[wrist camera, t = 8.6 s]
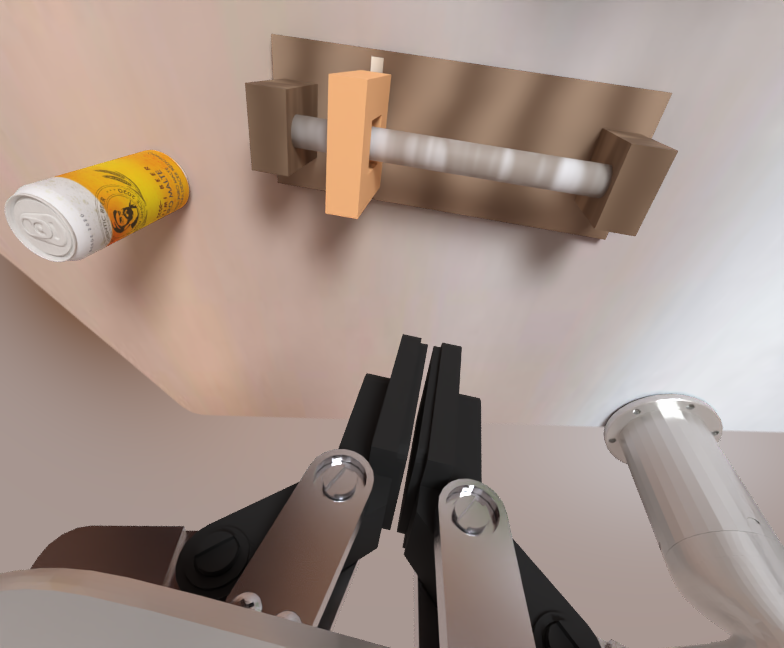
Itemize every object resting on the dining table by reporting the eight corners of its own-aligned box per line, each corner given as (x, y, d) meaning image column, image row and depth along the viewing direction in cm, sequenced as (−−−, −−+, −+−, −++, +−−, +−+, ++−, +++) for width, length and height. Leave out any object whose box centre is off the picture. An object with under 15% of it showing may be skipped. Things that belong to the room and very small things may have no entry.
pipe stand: (668, 92, 31) (720, 101, 24) (602, 236, 38) (630, 274, 31) (275, 34, 33) (226, 28, 27) (280, 180, 40) (243, 204, 33)
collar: (391, 74, 32) (367, 79, 25) (380, 186, 37) (357, 218, 30) (361, 69, 32) (328, 73, 25) (354, 182, 37) (325, 213, 30)
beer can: (197, 212, 43) (90, 273, 31) (145, 202, 44) (19, 259, 32) (188, 153, 40) (63, 196, 28) (132, 143, 40) (-16, 181, 28)
